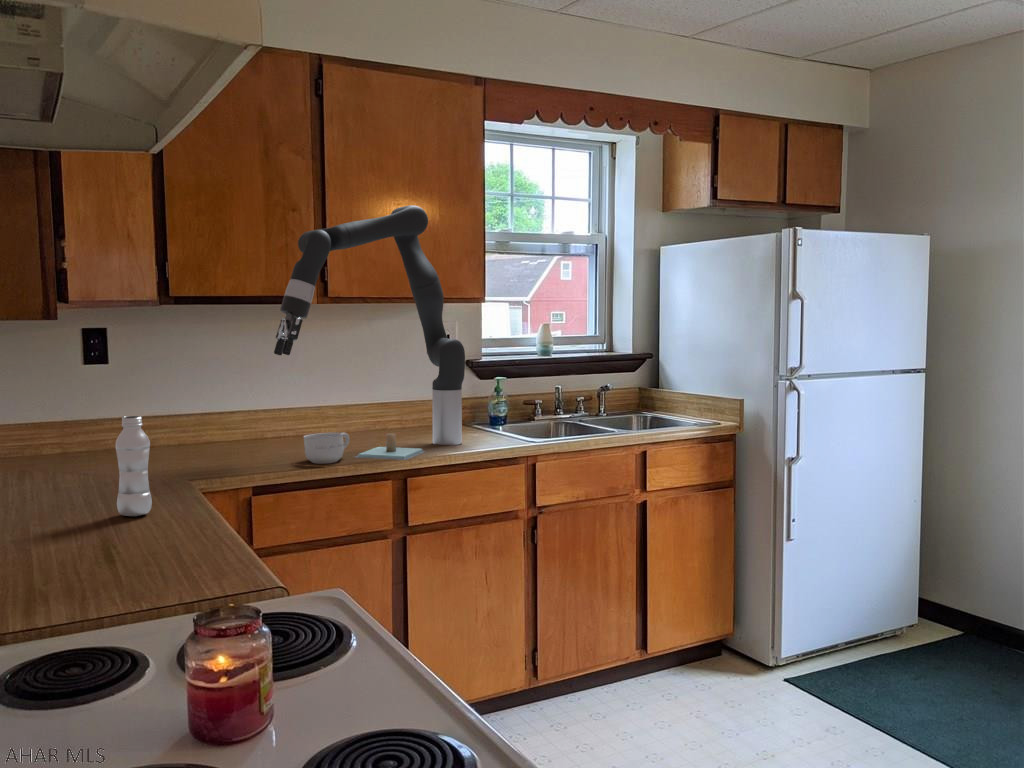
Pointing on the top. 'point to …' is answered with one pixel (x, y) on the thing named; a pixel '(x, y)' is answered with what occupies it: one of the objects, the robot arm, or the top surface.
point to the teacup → (325, 447)
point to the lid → (390, 450)
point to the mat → (392, 458)
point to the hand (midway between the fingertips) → (281, 354)
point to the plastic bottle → (133, 468)
